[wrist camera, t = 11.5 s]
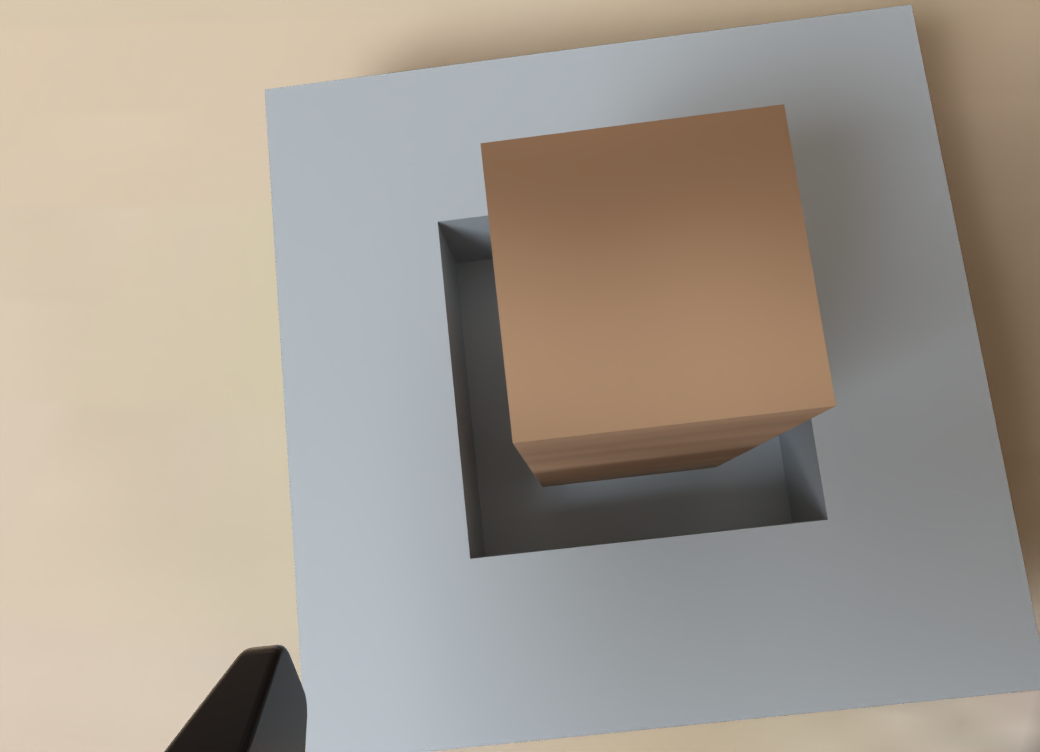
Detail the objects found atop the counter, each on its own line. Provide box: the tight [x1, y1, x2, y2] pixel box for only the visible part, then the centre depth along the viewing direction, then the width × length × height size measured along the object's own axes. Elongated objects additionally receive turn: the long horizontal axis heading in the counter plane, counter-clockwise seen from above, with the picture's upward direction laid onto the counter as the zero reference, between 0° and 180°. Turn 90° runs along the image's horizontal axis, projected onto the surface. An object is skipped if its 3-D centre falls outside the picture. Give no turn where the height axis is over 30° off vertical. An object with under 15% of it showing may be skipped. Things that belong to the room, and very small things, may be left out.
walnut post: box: [480, 104, 836, 487], centre depth 17 cm, size 4×4×10 cm
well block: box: [265, 5, 1040, 752], centre depth 21 cm, size 14×14×4 cm
